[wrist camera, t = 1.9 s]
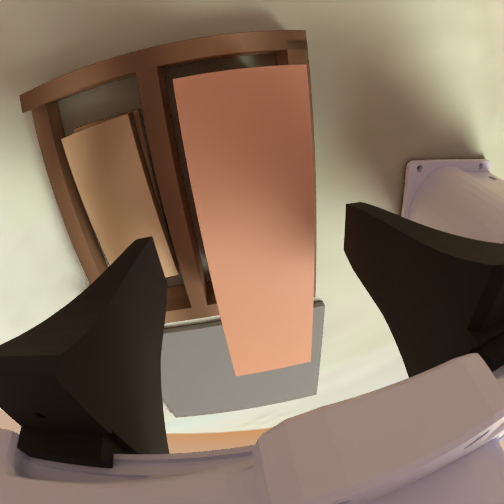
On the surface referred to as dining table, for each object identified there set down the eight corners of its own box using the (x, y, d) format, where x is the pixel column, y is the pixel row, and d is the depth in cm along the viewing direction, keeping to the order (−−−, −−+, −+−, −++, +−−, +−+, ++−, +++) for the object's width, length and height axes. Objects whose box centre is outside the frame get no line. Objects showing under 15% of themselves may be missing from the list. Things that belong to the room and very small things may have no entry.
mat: (322, 301, 24) (324, 305, 23) (315, 390, 31) (316, 394, 31) (126, 333, 23) (125, 338, 22) (175, 413, 30) (175, 417, 30)
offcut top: (132, 111, 14) (127, 113, 13) (179, 263, 20) (178, 274, 19) (69, 135, 14) (61, 139, 13) (124, 276, 19) (120, 287, 18)
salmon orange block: (254, 71, 14) (306, 64, 7) (272, 256, 21) (310, 361, 13) (189, 80, 14) (172, 79, 7) (221, 265, 21) (235, 376, 13)
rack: (291, 36, 13) (305, 30, 11) (304, 275, 22) (315, 296, 20) (41, 91, 12) (19, 95, 10) (112, 306, 21) (106, 330, 19)
